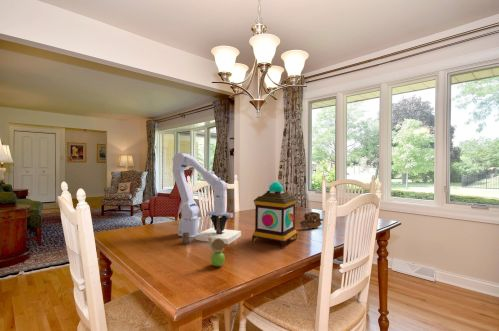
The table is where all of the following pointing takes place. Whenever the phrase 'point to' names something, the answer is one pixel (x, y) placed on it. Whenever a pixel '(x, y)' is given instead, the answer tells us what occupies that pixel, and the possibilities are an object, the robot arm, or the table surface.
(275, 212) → the decorative lantern
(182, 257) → the table surface
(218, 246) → the snail figurine
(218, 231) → the tall dowel
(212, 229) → the hole board
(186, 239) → the short dowel
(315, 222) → the wooden carving
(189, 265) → the table surface
